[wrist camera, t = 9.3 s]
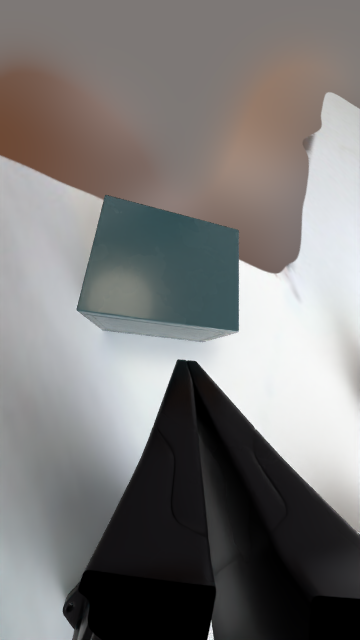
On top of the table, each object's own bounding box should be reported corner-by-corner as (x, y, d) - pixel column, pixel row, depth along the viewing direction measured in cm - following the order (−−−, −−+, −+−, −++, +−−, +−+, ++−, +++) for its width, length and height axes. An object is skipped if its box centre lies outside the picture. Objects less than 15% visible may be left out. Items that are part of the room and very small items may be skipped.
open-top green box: (116, 257, 20) (105, 208, 14) (206, 275, 22) (234, 241, 16) (102, 330, 18) (80, 313, 11) (203, 342, 20) (233, 333, 14)
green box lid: (106, 203, 14) (104, 193, 13) (234, 235, 16) (238, 229, 15) (79, 313, 11) (75, 310, 11) (233, 333, 14) (239, 332, 13)
